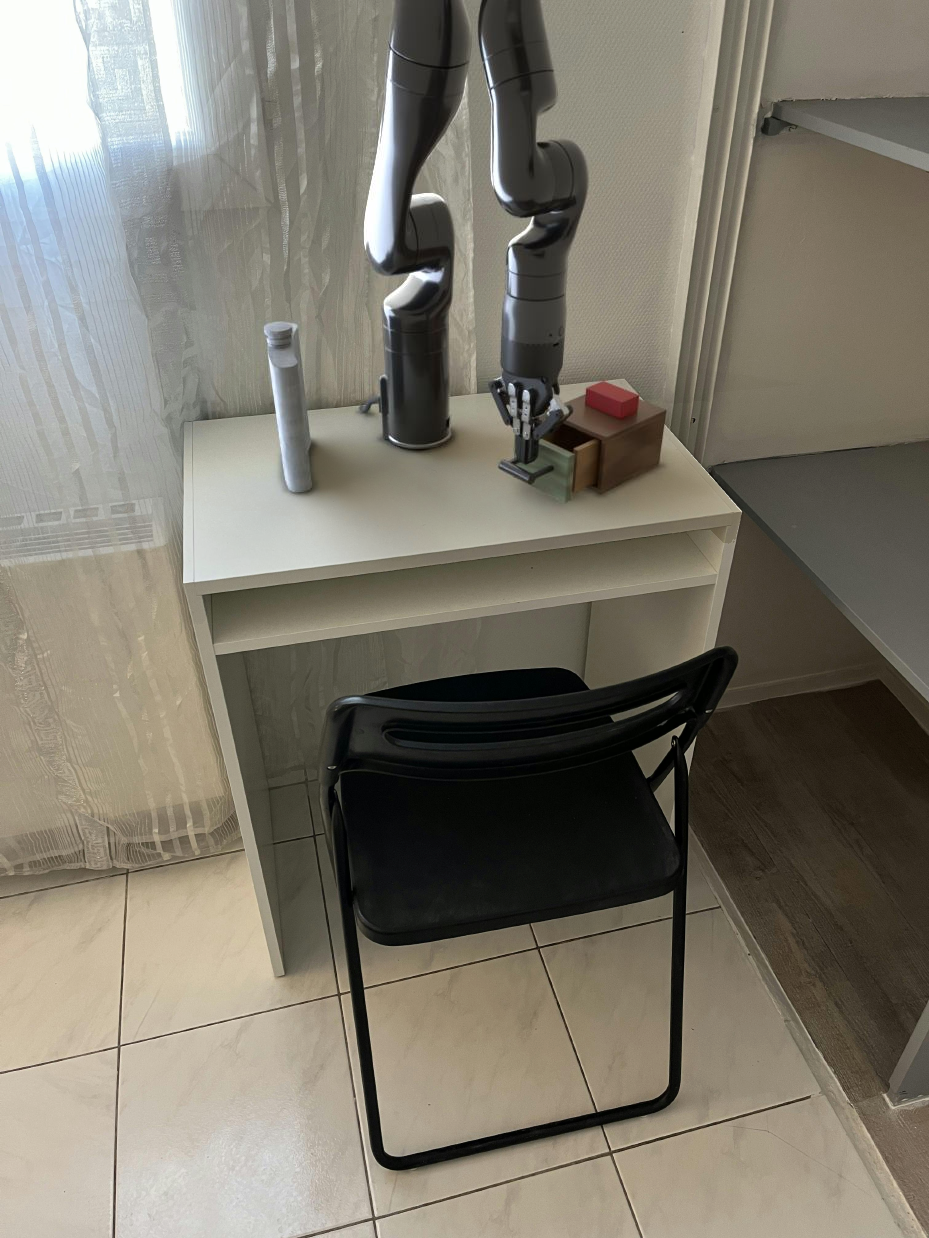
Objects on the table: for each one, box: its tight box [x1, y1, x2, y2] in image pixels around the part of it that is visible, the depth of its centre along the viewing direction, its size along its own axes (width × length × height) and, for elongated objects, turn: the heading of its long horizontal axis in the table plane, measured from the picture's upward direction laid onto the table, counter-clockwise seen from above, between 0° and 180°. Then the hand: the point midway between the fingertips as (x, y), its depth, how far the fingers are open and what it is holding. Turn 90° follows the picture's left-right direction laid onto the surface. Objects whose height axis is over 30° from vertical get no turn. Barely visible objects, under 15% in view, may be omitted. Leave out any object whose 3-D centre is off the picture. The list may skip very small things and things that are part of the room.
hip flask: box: [263, 321, 313, 493], centre depth 126 cm, size 16×4×20 cm, turn 8°
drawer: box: [498, 423, 602, 504], centre depth 124 cm, size 16×10×7 cm, turn 132°
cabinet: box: [545, 394, 667, 495], centre depth 129 cm, size 12×11×8 cm
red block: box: [584, 380, 640, 419], centre depth 126 cm, size 6×4×2 cm, turn 42°
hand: (526, 461), depth 120 cm, fingers closed
